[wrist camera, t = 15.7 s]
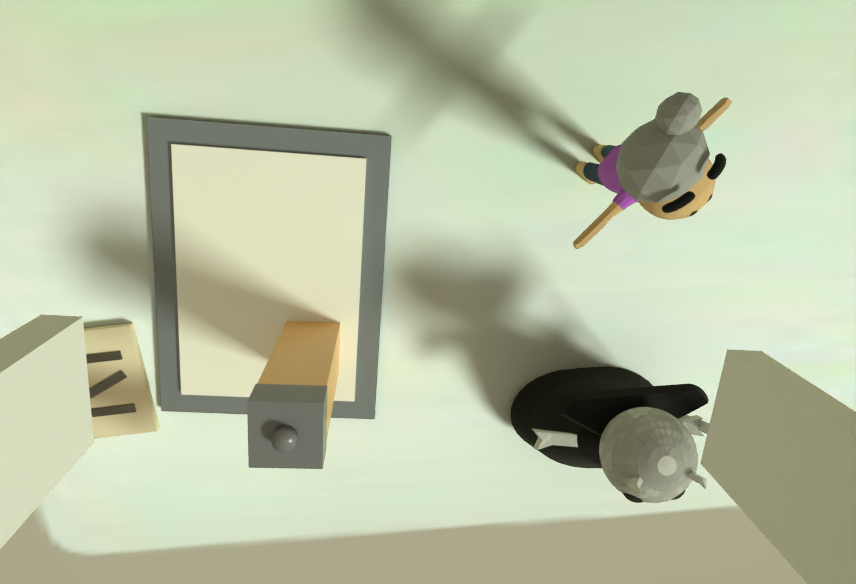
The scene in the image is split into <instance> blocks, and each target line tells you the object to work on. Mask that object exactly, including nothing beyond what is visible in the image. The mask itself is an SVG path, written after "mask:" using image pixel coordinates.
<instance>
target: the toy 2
mask: <svg viewBox="0 0 856 584" xmlns="http://www.w3.org/2000/svg"><path fill="white" fill-rule="evenodd" d="M707 403H708V397H707V395H706V394H705V392H704V391H703V390H702V389H701V388H700V387H698V386H696V385H693V384H679V385H665V386H652V384H651V383H650V382H649V381H647V380H646V379H644V378H643V377H641V376H640V375H638V374H635V373H633V372H631V371H628V370H624V369H620V368H614V367H588V368H576V369H567V370H559V371H555V372H552V373H548V374H546V375H544V376H541V377H539V378H537V379H535V380H534V381H532V382H531V383H529V384H528V385H526V386H525V387H524V388H523V389H522V390H521V391H520V392H519V394H518V395H517V396H516V398H515V399H514V402H513V405H512V407H511V421H512V425H513V427H514V429H515V431H516V432H517V434H518V435H519V436H520V437H521V438H522V439H523V440H524V441H526V442H527V443H528V444H530V445H531V446H533V448H535V449H536V450H538V451H540V452H541V453H543V454H544V455H545V456H547V457H548V458H550V459H552V460H554V461H556V462H559V463H561V464H565V465H569V466H573V467H581V468H603V471H604V473H605V475H606V476H607V478H608V479H609V481H610V482H611V483H612V484H613V485H614V486H615V487H616V489H617V490H619V491H620V492H622V493H623V494H624V496H625V497H626V498H627V499H628V500H630V501H632V502H636V503H640V502H647V503H659V502H664V501H668V500H674V499H678V498H680V497H681V496H682V495H683V494H684V492H685V489H686V488H687V487H688V486H689V485H690V483H691V482H692V480H693V481H695V482H697V483H699V484H701V485H702V486H703V487H704V489H706V479H705V478H703V477H701V476H699V475H697V474H695V473H696V469H697V464H698V454H697V448H696V445H695V442H694V439H693V437H692V436H691V434H692V435H699V436H704V435H703V434H702V433H701V432H704V433H706V434H708V429H709V425H710V424H709V423H707V422H704V421H701V420H702V418H701V417H699V416H697V415H695V416H692V417H691V416H688V415H687V414H689V413H690V412H692V411H694V410H696V409H698V408H700V407H702V406H703V405H705V404H707ZM700 431H701V432H700Z"/></svg>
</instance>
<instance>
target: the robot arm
mask: <svg viewBox="0 0 856 584" xmlns="http://www.w3.org/2000/svg"><path fill="white" fill-rule="evenodd" d="M93 443H94V439H93V428H92V416H91V405H90V393H89V382H88V371H87V359H86V348H85V336H84V325H83V317H77V316H58V315H40V316H38V317H37V318H35V319H33V320H32V321H30V322H28V323H27V324H25V325H23V326H21V327H20V328H18V329H16V330H15V331H13V332H11V333H10V334H8V335H6V336H5V337H3V338H1V339H0V549H1V547H2V546H3V545H4V544H5V543H6V542H7V541H8V540H9V538H10V537H11V536H12V535H13V534H14V533H15V532H16V531H17V529H18V528H19V527H20V526H21V525H22V524H23V523H24V521H25V520H26V519H27V518H28V517H29V516H30V514H31V513H32V512H33V511H34V510H35V509H36V508H37V507H38V506H39V504H40V503H41V502H42V501H43V500H44V499H45V498H46V496H47V495H48V494H49V493H50V492H51V491H52V490H53V488H54V487H55V486H56V485H57V484H58V483H59V482H60V481H61V479H62V478H63V477H64V476H65V475H66V474H67V473H68V471H69V470H70V469H71V468H72V467H73V466H74V465H75V463H76V462H77V461H78V460H79V459H80V458H81V457H82V456H83V454H84V453H85V452H86V451H87V450H88V449H89V448H90V446H91V445H92V444H93ZM701 464H702V465H703V467H704V468H705V469H706V470H707V471H708V472H709V473H710V474H711V476H712V477H713V478H714V479H715V480H716V481H717V482H718V483H719V485H720V486H721V487H722V488H723V489H724V490H725V491H726V492H727V494H728V495H729V496H730V497H731V498H732V499H733V500H734V501H735V503H736V504H737V505H738V506H739V507H740V508H741V509H742V510H743V511H744V513H745V514H746V515H747V516H748V517H749V518H750V519H751V521H752V522H753V523H754V524H755V525H756V526H757V527H758V528H759V529H760V531H761V532H762V533H763V534H764V535H765V536H766V537H767V539H768V540H769V541H770V542H771V543H772V544H773V545H774V546H775V547H776V549H777V550H778V551H779V552H780V553H781V554H782V555H783V556H784V558H785V559H786V560H787V561H788V562H789V563H790V564H791V566H792V567H793V568H794V569H795V570H796V571H797V572H798V573H799V575H800V576H801V577H802V578H803V579H804V580H805V581H806V582H807V584H856V412H855V411H853V410H852V409H850V408H849V407H847V406H846V405H844V404H842V403H841V402H839V401H838V400H836V399H835V398H833V397H832V396H830V395H828V394H827V393H825V392H824V391H822V390H821V389H819V388H818V387H816V386H815V385H813V384H811V383H810V382H808V381H807V380H805V379H804V378H802V377H801V376H799V375H797V374H796V373H794V372H793V371H791V370H790V369H788V368H787V367H785V366H783V365H782V364H780V363H779V362H777V361H776V360H774V359H773V358H771V357H769V356H768V355H766V354H765V353H763V352H762V351H745V350H727V353H726V357H725V361H724V366H723V370H722V374H721V378H720V383H719V387H718V391H717V395H716V400H715V404H714V408H713V412H712V417H711V421H710V425H709V429H708V434H707V438H706V442H705V446H704V451H703V455H702V459H701Z"/></svg>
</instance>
